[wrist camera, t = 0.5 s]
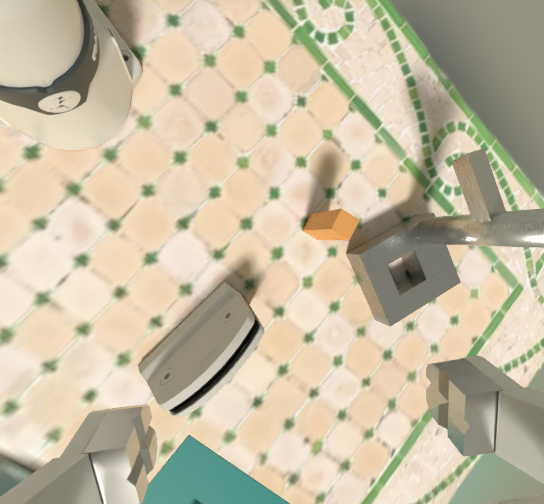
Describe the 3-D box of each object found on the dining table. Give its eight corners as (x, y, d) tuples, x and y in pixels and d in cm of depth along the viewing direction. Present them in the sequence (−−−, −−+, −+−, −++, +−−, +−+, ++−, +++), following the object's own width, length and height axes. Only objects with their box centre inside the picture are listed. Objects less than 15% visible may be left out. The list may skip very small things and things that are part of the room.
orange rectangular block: (302, 230, 49) (331, 229, 40) (310, 214, 50) (341, 208, 40) (317, 239, 50) (349, 240, 40) (325, 223, 50) (359, 220, 41)
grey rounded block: (226, 279, 47) (256, 309, 38) (245, 298, 49) (278, 331, 41) (135, 367, 44) (147, 420, 36) (161, 383, 47) (177, 437, 38)
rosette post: (326, 209, 50) (431, 189, 29) (399, 172, 53) (542, 129, 32) (375, 320, 53) (502, 375, 32) (441, 279, 56) (597, 305, 35)
